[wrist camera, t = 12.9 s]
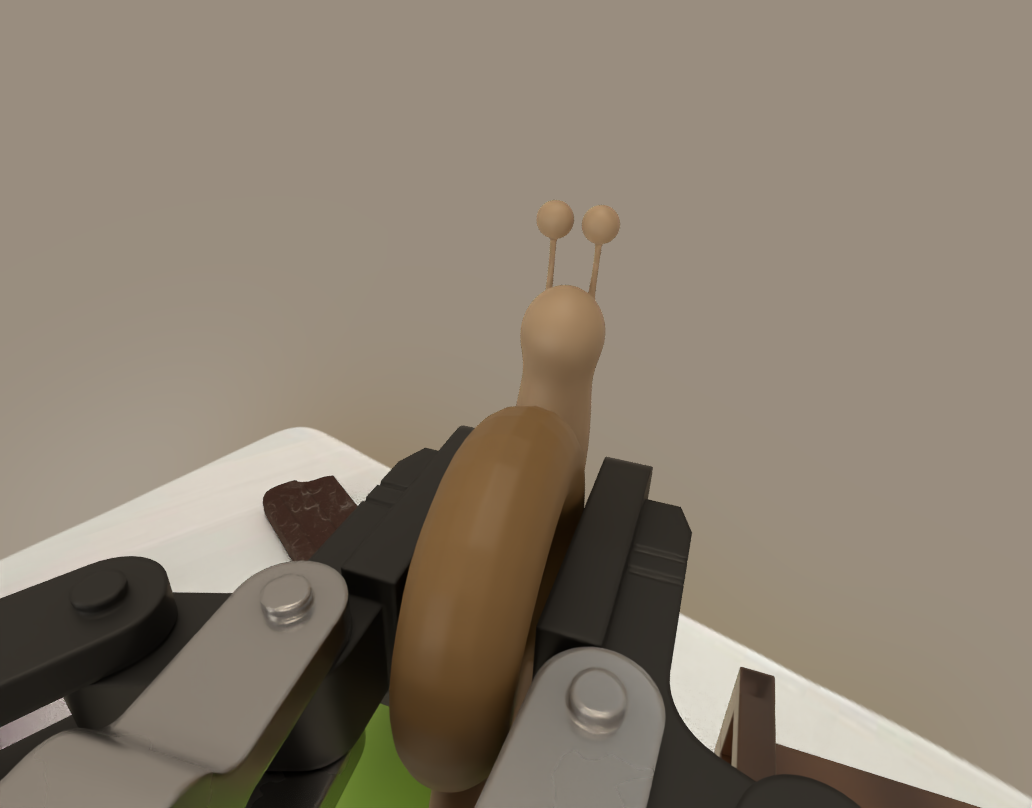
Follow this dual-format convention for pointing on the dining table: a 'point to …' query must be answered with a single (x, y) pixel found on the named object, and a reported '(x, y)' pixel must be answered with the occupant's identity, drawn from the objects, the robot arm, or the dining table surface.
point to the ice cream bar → (307, 513)
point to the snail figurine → (490, 559)
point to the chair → (802, 753)
